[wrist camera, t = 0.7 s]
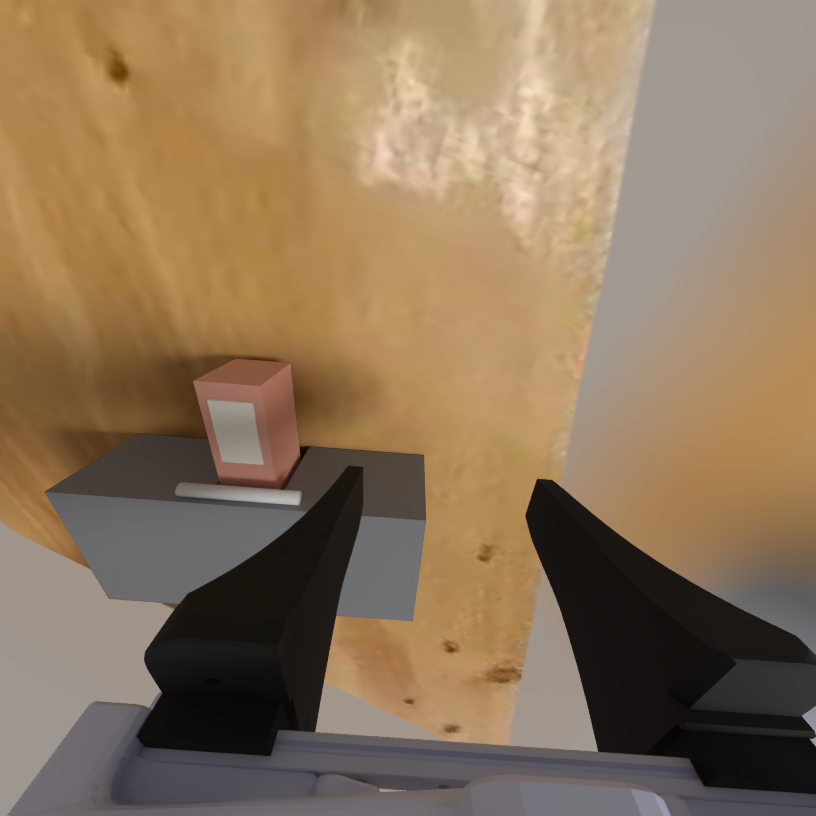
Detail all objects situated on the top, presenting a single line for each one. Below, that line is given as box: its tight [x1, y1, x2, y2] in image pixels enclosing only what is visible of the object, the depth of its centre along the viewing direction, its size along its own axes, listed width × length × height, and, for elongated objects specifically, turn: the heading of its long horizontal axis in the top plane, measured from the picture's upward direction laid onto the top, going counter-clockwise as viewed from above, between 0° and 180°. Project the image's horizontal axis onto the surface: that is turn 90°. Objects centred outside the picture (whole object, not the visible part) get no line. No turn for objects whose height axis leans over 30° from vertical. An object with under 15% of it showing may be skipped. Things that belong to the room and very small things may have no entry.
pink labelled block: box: [193, 359, 301, 490], centre depth 20 cm, size 12×4×4 cm, turn 176°
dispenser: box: [45, 434, 426, 621], centre depth 22 cm, size 11×22×6 cm, turn 86°
